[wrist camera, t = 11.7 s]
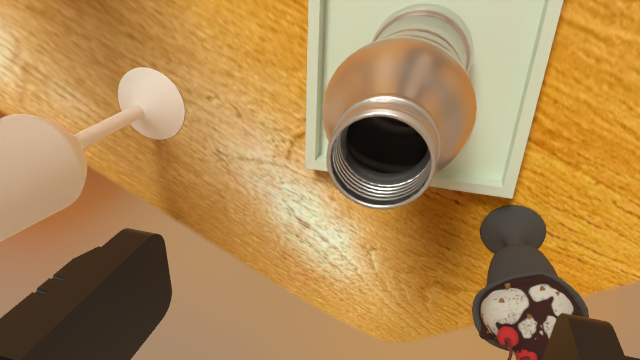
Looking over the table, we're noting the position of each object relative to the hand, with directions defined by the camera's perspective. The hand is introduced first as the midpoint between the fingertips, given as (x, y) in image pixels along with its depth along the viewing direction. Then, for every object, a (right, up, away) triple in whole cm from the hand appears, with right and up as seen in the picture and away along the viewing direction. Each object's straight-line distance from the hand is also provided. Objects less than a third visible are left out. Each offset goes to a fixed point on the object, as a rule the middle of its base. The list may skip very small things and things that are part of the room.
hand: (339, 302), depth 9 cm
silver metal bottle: (+7, +12, +23) cm, 27 cm away
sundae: (+15, -2, +28) cm, 32 cm away
